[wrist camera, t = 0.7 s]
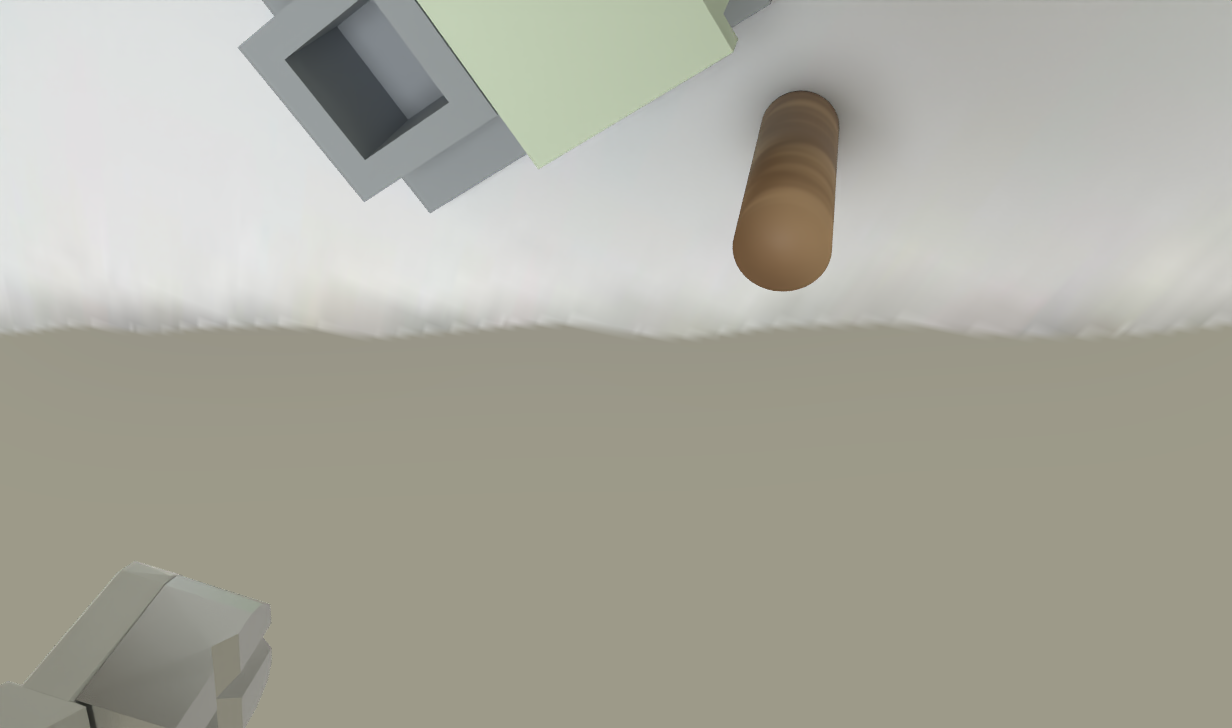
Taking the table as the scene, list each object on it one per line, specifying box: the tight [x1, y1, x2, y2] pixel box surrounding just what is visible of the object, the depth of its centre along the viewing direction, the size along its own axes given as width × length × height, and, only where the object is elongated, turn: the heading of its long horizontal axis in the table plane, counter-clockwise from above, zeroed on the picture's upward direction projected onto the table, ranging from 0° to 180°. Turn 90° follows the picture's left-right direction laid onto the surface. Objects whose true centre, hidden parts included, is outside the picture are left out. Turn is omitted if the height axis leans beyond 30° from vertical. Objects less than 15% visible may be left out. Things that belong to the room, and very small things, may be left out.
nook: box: [238, 0, 772, 213], centre depth 39 cm, size 20×14×12 cm
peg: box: [733, 91, 839, 291], centre depth 40 cm, size 4×4×12 cm
